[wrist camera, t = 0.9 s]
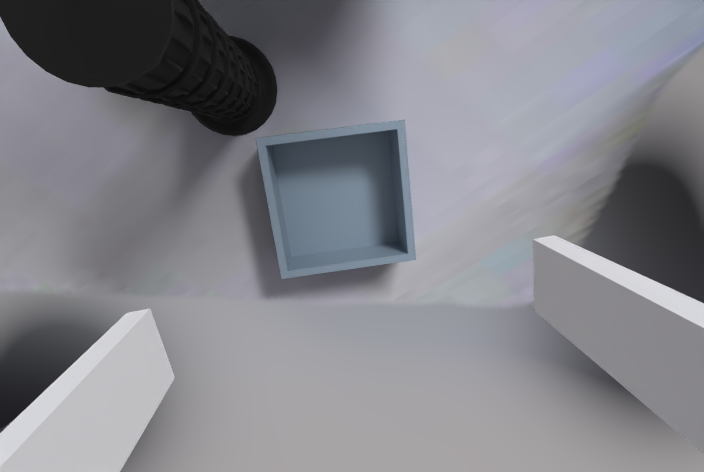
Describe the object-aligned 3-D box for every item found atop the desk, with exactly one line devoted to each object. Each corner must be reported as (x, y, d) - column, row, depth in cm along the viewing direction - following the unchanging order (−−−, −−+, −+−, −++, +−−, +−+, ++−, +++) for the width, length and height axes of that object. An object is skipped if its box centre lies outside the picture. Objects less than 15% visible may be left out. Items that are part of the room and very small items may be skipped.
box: (264, 138, 41) (255, 138, 35) (392, 122, 42) (404, 119, 36) (286, 261, 45) (281, 279, 39) (403, 244, 46) (415, 259, 40)
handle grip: (161, 89, 39) (237, 154, 41) (-136, -9, 14) (106, 175, 16) (221, 13, 38) (296, 85, 40) (16, -254, 12) (255, -16, 15)
